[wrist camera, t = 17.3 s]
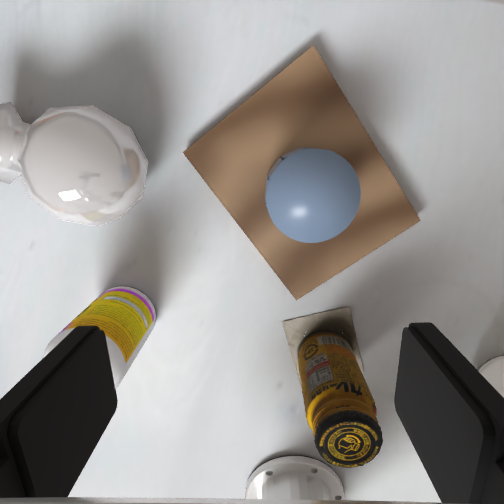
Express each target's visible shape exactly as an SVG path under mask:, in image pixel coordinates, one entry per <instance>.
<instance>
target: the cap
mask: <svg viewBox="0 0 504 504" xmlns="http://www.w3.org/2000/svg"><path fill="white" fill-rule="evenodd" d="M281 158H282V159H281ZM281 158H280V157H279V158H278V159H277V161H276V162H275V164H274V165H273V166H272V168H271V169H270V170H269V172H268V175H267V180H266V188H265V205H266V207H267V209H268V212H269V215H270V217H271V219H272V221H273V223H274V224H275V226H276V227H277V228H278V229H279V230H280V231H281V232H282V233H283V234H285V235H286V236H288V237H289V238H291V239H294V240H296V241H300V242H305V243H318V242H323V241H326V240H329V239H331V238H333V237H335V236H337V235H338V234H340V233H341V232H342V231H344V230H345V229H346V228H347V227H348V226H349V225H350V223H351V222H352V221H353V219H354V217H355V215H356V213H357V211H358V208H359V204H360V199H361V189H360V183H359V179H358V176H357V174H356V172H355V170H354V169H353V167H352V166H351V165H350V163H349V162H348V161H346V160H345V159H344V158H343V157H341V156H340V155H338V154H336V153H335V152H334V151H331V150H325V149H316V148H301V147H300V148H297V149H295V150H293V151H290V152H288V153H286V154H284V155H282V156H281Z"/></svg>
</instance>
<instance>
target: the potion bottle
mask: <svg viewBox="0 0 504 504" xmlns="http://www.w3.org/2000/svg"><path fill="white" fill-rule="evenodd" d="M147 169H148V160H147V158H146V156H145V154H144V152H143V151H142V149H141V147H140V145H139V143H138V141H137V139H136V137H135V135H134V133H133V131H132V130H131V128H130V127H129V126H127V125H126V124H124V123H122V122H121V121H119V120H117V119H115V118H114V117H112V116H110V115H109V114H107V113H105V112H103V111H102V110H100V109H98V108H97V107H95V106H93V105H89V106H71V107H53V108H49V109H48V110H47V111H46V112H45V113H43V114H42V115H41V116H40V117H39V118H38V119H37V120H36V121H35V122H33V123H32V124H29V123H25V122H23V121H22V119H21V118H20V116H19V114H18V113H17V111H16V110H15V108H14V106H13V105H12V103H11V102H8V103H3V104H0V181H1V182H4V183H8V184H10V183H11V182H12V181H14V180H15V179H16V178H17V177H19V176H20V175H22V178H23V181H24V185H25V188H26V191H27V195H28V197H30V198H31V199H32V200H34V201H35V202H36V203H38V204H39V205H40V206H42V207H43V208H44V209H46V210H47V211H48V212H50V213H51V214H52V215H54V216H55V217H56V218H58V219H59V220H62V221H67V222H72V223H78V224H83V225H92V226H99V225H102V224H106V223H109V222H112V221H115V220H118V219H120V218H121V217H122V216H123V215H124V214H125V213H126V212H127V211H128V210H129V209H130V208H132V207H133V206H134V205H135V204H136V203H137V202H138V201H139V200H140V199H141V198H142V197H143V196H144V190H145V183H146V176H147Z"/></svg>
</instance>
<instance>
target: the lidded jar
mask: <svg viewBox="0 0 504 504" xmlns="http://www.w3.org/2000/svg"><path fill="white" fill-rule="evenodd" d="M478 371H479V372H480V374H481V375H482V376H483V377H484V378H485V379H486V380H487V381H488V382H489V383H490V384H491V385H492V386H493V387H494V388H495V389H496V390H497V391H498V392H499V393H500V394H501V395H502V396H503V398H504V356H499V357H496V358H493V359H491V360H489V361H487V362H486V363H485V364H483V365H482V366H481V367H480V369H479V370H478Z"/></svg>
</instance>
